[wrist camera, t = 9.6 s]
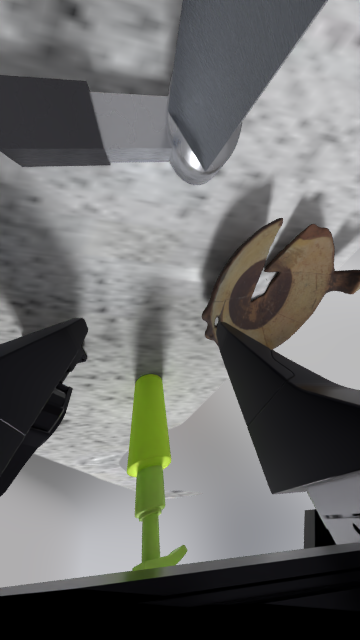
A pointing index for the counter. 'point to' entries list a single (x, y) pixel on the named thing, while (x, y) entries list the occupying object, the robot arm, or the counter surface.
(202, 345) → the counter surface
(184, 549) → the soap dispenser
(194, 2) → the grey orange-striped post
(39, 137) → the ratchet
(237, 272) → the notched wooden ornament
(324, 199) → the counter surface
